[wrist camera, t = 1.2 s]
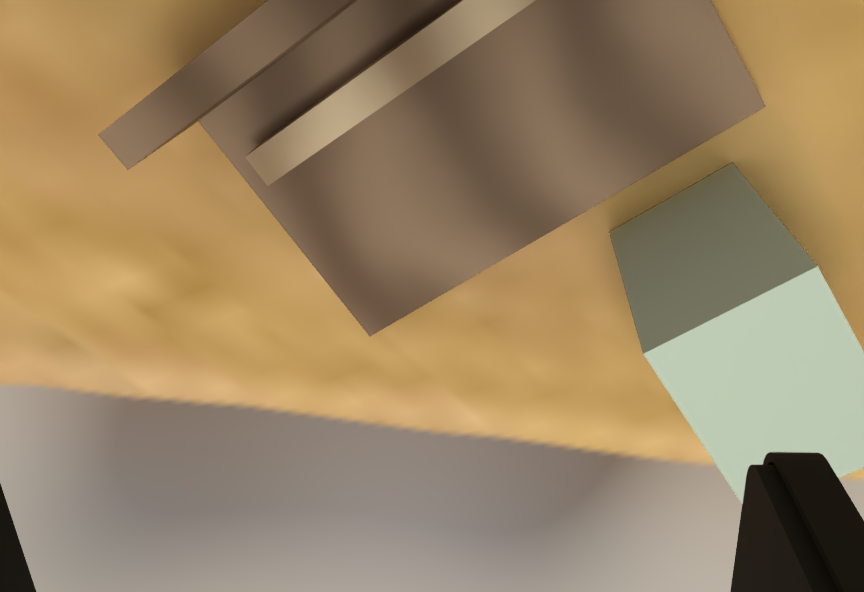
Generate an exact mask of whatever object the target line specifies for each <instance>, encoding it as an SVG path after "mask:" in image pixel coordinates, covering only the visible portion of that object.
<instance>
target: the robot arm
mask: <svg viewBox="0 0 864 592" xmlns="http://www.w3.org/2000/svg"><path fill="white" fill-rule="evenodd" d="M0 592H36V590H35V587H34V584H33V581H32V578H31V575H30V572H29V569H28V566H27V563H26V560H25V557H24V554H23V551H22V548H21V545H20V542H19V539H18V536H17V532H16V530H15V526H14V524H13V520H12V518H11V514H10V511H9V509H8V505H7V502H6V499H5V496H4V493H3V490H2V487H1V484H0ZM731 592H864V521H863V519H862V517H861V516H860V514H859V512H858V511H857V509H856V507H855V506H854V504H853V502H852V501H851V499H850V497H849V496H848V494H847V492H846V491H845V489H844V487H843V486H842V484H841V482H840V481H839V479H838V477H837V476H836V474H835V472H834V471H833V469H832V467H831V466H830V464H829V462H828V461H827V459H826V458H825V457H824V455H823V454H820V453H805V452H769V453H768V454H766V456H765V458H764V461H763V465H750V466H749V468H748V471H747V475H746V482H745V490H744V497H743V504H742V512H741V520H740V526H739V534H738V542H737V549H736V556H735V563H734V571H733V578H732V585H731Z"/></svg>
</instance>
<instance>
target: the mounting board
mask: <svg viewBox="0 0 864 592" xmlns="http://www.w3.org/2000/svg"><path fill="white" fill-rule="evenodd" d="M764 107H766V106H765V104H764V102H763V100H762V98H761V96H760V94H759V92H758V90H757V88H756V86H755V84H754V83H753V81H752V79H751V77H750V75H749V73H748V71H747V69H746V67H745V65H744V63H743V61H742V60H741V58H740V56H739V54H738V52H737V50H736V48H735V46H734V44H733V42H732V40H731V38H730V37H729V35H728V33H727V31H726V29H725V27H724V25H723V23H722V21H721V19H720V17H719V15H718V14H717V12H716V10H715V8H714V6H713V4H712V2H711V0H268V1H266V2H265V3H264V4H263V5H261V6H260V7H259V8H258V9H256V10H255V11H254V12H253V13H251V14H250V15H249V16H247V17H246V18H245V19H244V20H242V21H241V22H240V23H239V24H237V25H236V26H235V27H234V28H232V29H231V30H230V31H229V32H227V33H226V34H225V35H224V36H222V37H221V38H220V39H219V40H217V41H216V42H215V43H213V44H212V45H211V46H210V47H208V48H207V49H206V50H205V51H203V52H202V53H201V54H200V55H198V56H197V57H196V58H195V59H193V60H192V61H191V62H190V63H188V64H187V65H186V66H184V67H183V68H182V69H181V70H179V71H178V72H177V73H176V74H174V75H173V76H172V77H171V78H169V79H168V80H167V81H166V82H164V83H163V84H162V85H161V86H159V87H158V88H157V89H155V90H154V91H153V92H152V93H150V94H149V95H148V96H147V97H145V98H144V99H143V100H142V101H140V102H139V103H138V104H137V105H135V106H134V107H133V108H132V109H130V110H129V111H128V112H126V113H125V114H124V115H123V116H121V117H120V118H119V119H118V120H116V121H115V122H114V123H113V124H111V125H110V126H109V127H108V128H106V129H105V130H104V131H103V132H101V133H100V134H99V137H100V138H101V139H102V140H103V141H104V143H105V144H106V145H107V146H108V147H109V148H110V150H111V151H112V152H113V153H114V154H115V155H116V157H117V158H118V159H119V160H120V161H121V163H122V164H123V165H124V166H125V167H126V168H127V170H129V169H130V168H131V167H133V166H134V165H136V164H137V163H139V162H140V161H141V160H143V159H144V158H146V157H147V156H149V155H150V154H152V153H153V152H154V151H156V150H157V149H159V148H160V147H162V146H163V145H164V144H166V143H167V142H169V141H170V140H172V139H173V138H175V137H176V136H177V135H179V134H180V133H182V132H183V131H185V130H186V129H187V128H189V127H190V126H192V125H193V124H195V123H196V122H198V121H199V123H200V124H201V125H202V126H203V128H204V129H205V130H206V131H207V133H208V134H209V135H210V136H211V138H212V139H213V140H214V141H215V143H216V144H217V145H218V147H219V148H220V149H221V150H222V152H223V153H224V154H225V155H226V157H227V158H228V159H229V160H230V162H231V163H232V164H233V165H234V167H235V168H236V169H237V170H238V172H239V173H240V174H241V175H242V177H243V178H244V179H245V180H246V182H247V183H248V184H249V185H250V187H251V188H252V189H253V190H254V192H255V193H256V194H257V195H258V197H259V198H260V199H261V200H262V202H263V203H264V204H265V206H266V207H267V208H268V209H269V211H270V212H271V213H272V214H273V216H274V217H275V218H276V219H277V221H278V222H279V223H280V224H281V226H282V227H283V228H284V229H285V231H286V232H287V233H288V234H289V236H290V237H291V238H292V239H293V241H294V242H295V243H296V244H297V246H298V247H299V248H300V249H301V251H302V252H303V253H304V254H305V256H306V257H307V258H308V259H309V261H310V262H311V263H312V264H313V266H314V267H315V268H316V270H317V271H318V272H319V273H320V275H321V276H322V277H323V278H324V280H325V281H326V282H327V283H328V285H329V286H330V287H331V288H332V290H333V291H334V292H335V293H336V295H337V296H338V297H339V298H340V300H341V301H342V302H343V303H344V305H345V306H346V307H347V308H348V310H349V311H350V312H351V313H352V315H353V316H354V317H355V318H356V320H357V321H358V322H359V323H360V325H361V326H362V327H363V329H364V330H365V331H366V332H367V334H368V335H369V336H372V335H373V334H375V333H377V332H378V331H380V330H382V329H384V328H385V327H387V326H389V325H391V324H392V323H394V322H396V321H397V320H399V319H401V318H403V317H404V316H406V315H408V314H409V313H411V312H413V311H415V310H416V309H418V308H420V307H422V306H423V305H425V304H427V303H428V302H430V301H432V300H434V299H435V298H437V297H439V296H440V295H442V294H444V293H446V292H447V291H449V290H451V289H453V288H454V287H456V286H458V285H459V284H461V283H463V282H465V281H466V280H468V279H470V278H471V277H473V276H475V275H477V274H478V273H480V272H482V271H484V270H485V269H487V268H489V267H490V266H492V265H494V264H496V263H497V262H499V261H501V260H502V259H504V258H506V257H508V256H509V255H511V254H513V253H515V252H516V251H518V250H520V249H521V248H523V247H525V246H527V245H528V244H530V243H532V242H533V241H535V240H537V239H539V238H540V237H542V236H544V235H545V234H547V233H549V232H551V231H552V230H554V229H556V228H558V227H559V226H561V225H563V224H564V223H566V222H568V221H570V220H571V219H573V218H575V217H576V216H578V215H580V214H582V213H583V212H585V211H587V210H589V209H590V208H592V207H594V206H595V205H597V204H599V203H601V202H602V201H604V200H606V199H607V198H609V197H611V196H613V195H614V194H616V193H618V192H620V191H621V190H623V189H625V188H626V187H628V186H630V185H632V184H633V183H635V182H637V181H638V180H640V179H642V178H644V177H645V176H647V175H649V174H651V173H652V172H654V171H656V170H657V169H659V168H661V167H663V166H664V165H666V164H668V163H669V162H671V161H673V160H675V159H676V158H678V157H680V156H682V155H683V154H685V153H687V152H688V151H690V150H692V149H694V148H695V147H697V146H699V145H700V144H702V143H704V142H706V141H707V140H709V139H711V138H713V137H714V136H716V135H718V134H719V133H721V132H723V131H725V130H726V129H728V128H730V127H731V126H733V125H735V124H737V123H738V122H740V121H742V120H744V119H745V118H747V117H749V116H750V115H752V114H754V113H756V112H757V111H759V110H761V109H762V108H764Z"/></svg>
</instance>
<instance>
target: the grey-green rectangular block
mask: <svg viewBox="0 0 864 592" xmlns="http://www.w3.org/2000/svg"><path fill="white" fill-rule="evenodd" d="M609 233H610V237H611V241H612V244H613V248H614V251H615V255H616V258H617V262H618V266H619V269H620V273H621V276H622V280H623V283H624V287H625V290H626V294H627V298H628V301H629V305H630V308H631V312H632V315H633V319H634V323H635V326H636V330H637V333H638V337H639V340H640V344H641V348H642V351H643V354H644V356H645V357H646V359H647V360H648V362H649V363H650V365H651V366H652V368H653V369H654V371H655V373H656V374H657V376H658V377H659V379H660V380H661V382H662V383H663V385H664V386H665V388H666V389H667V391H668V392H669V394H670V395H671V397H672V398H673V400H674V401H675V403H676V404H677V406H678V408H679V409H680V411H681V412H682V414H683V415H684V417H685V418H686V420H687V421H688V423H689V424H690V426H691V427H692V429H693V430H694V432H695V433H696V435H697V436H698V438H699V439H700V441H701V443H702V444H703V446H704V447H705V449H706V450H707V452H708V453H709V455H710V456H711V458H712V459H713V461H714V462H715V464H716V465H717V467H718V468H719V470H720V471H721V473H722V474H723V476H724V478H725V479H726V481H727V482H728V484H729V485H730V487H731V488H732V490H733V491H734V493H735V494H736V496H737V497H738V499H739V500H740V502H741V503H742V504H743V497H744V490H745V482H746V475H747V471H748V468H749V466H750V465H763V461H764V458H765V456H766V454H768V453H769V452H805V453H820V454H823V455H824V457H825V458H826V459H827V461H828V462H829V464H830V466H831V467H832V469H833V471H834V472H835V474H836V476H837V477H838V478H840V477H842V476H844V475H847V474H849V473H852V472H854V471H857V470H859V469H861V468H864V351H863V349H862V348H861V346H860V344H859V342H858V340H857V338H856V336H855V335H854V333H853V331H852V329H851V327H850V325H849V323H848V322H847V320H846V318H845V316H844V314H843V312H842V310H841V309H840V307H839V305H838V303H837V301H836V299H835V297H834V296H833V294H832V292H831V290H830V288H829V286H828V284H827V282H826V281H825V279H824V277H823V275H822V273H821V271H820V269H819V268H818V266H817V265H816V264H815V262H814V261H813V260H812V259H811V257H810V256H809V255H808V254H807V253H806V251H805V250H804V249H803V248H802V247H801V245H800V244H799V243H798V242H797V240H796V239H795V238H794V237H793V236H792V234H791V233H790V232H789V231H788V230H787V228H786V227H785V226H784V225H783V223H782V222H781V221H780V220H779V219H778V217H777V216H776V215H775V214H774V212H773V211H772V210H771V209H770V208H769V206H768V205H767V204H766V203H765V202H764V200H763V199H762V198H761V197H760V195H759V194H758V193H757V192H756V191H755V189H754V188H753V187H752V186H751V185H750V183H749V182H748V181H747V180H746V178H745V177H744V176H743V175H742V174H741V172H740V171H739V170H738V169H737V168H736V166H735V165H734V164H733V163H730V164H729V165H727V166H725V167H723V168H721V169H720V170H718V171H716V172H714V173H713V174H711V175H709V176H707V177H706V178H704V179H702V180H700V181H698V182H697V183H695V184H693V185H691V186H690V187H688V188H686V189H684V190H683V191H681V192H679V193H677V194H675V195H674V196H672V197H670V198H668V199H667V200H665V201H663V202H661V203H660V204H658V205H656V206H654V207H652V208H651V209H649V210H647V211H645V212H644V213H642V214H640V215H638V216H637V217H635V218H633V219H631V220H629V221H628V222H626V223H624V224H622V225H621V226H619V227H617V228H615V229H614V230H612V231H610V232H609Z"/></svg>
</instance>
